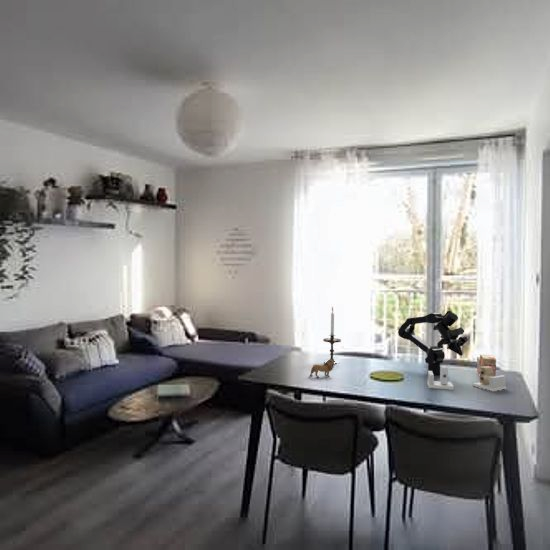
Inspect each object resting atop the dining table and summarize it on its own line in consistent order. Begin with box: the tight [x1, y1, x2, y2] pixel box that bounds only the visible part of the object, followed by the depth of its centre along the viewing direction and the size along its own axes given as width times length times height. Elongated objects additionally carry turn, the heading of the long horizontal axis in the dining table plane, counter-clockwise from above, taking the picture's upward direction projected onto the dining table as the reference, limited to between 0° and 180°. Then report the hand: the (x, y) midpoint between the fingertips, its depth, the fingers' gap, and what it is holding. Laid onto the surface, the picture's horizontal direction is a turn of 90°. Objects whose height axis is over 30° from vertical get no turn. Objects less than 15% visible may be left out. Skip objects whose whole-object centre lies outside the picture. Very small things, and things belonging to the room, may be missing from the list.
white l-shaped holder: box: [472, 374, 507, 392], centre depth 240 cm, size 12×10×6 cm
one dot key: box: [439, 364, 449, 384], centre depth 240 cm, size 3×6×8 cm, turn 167°
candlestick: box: [322, 306, 342, 362], centre depth 298 cm, size 11×11×35 cm
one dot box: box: [426, 370, 455, 390], centre depth 241 cm, size 12×10×6 cm
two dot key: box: [479, 366, 493, 384], centre depth 241 cm, size 3×6×8 cm, turn 120°
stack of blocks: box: [476, 353, 497, 377], centre depth 264 cm, size 21×6×12 cm, turn 165°
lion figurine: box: [308, 359, 335, 378], centre depth 259 cm, size 15×5×9 cm, turn 111°
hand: (461, 355), depth 254 cm, fingers closed
